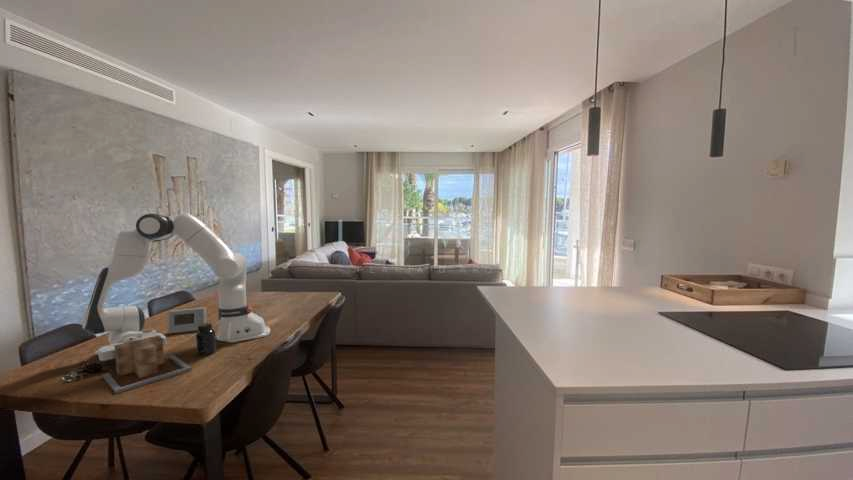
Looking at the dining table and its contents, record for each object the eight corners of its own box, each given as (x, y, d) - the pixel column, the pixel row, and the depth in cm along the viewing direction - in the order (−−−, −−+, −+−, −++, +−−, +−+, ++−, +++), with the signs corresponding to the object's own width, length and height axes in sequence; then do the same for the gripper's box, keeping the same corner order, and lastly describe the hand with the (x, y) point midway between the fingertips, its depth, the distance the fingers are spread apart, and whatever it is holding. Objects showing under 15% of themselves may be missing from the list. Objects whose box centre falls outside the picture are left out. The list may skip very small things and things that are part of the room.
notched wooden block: (160, 360, 136) (158, 335, 135) (170, 368, 128) (169, 342, 127) (116, 372, 125) (114, 345, 125) (125, 382, 118) (123, 353, 117)
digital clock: (164, 335, 165) (163, 313, 164) (174, 328, 173) (173, 308, 173) (202, 332, 168) (201, 311, 167) (210, 326, 177) (209, 306, 176)
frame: (173, 357, 138) (173, 355, 138) (191, 370, 127) (191, 367, 127) (103, 377, 122) (102, 374, 122) (115, 393, 110) (115, 390, 110)
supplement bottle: (202, 349, 146) (201, 322, 145) (219, 349, 146) (218, 321, 146) (193, 356, 139) (191, 327, 138) (210, 355, 140) (209, 326, 139)
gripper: (93, 343, 130) (100, 352, 122) (159, 329, 146) (170, 336, 138) (94, 359, 131) (102, 369, 122) (160, 343, 147) (171, 351, 138)
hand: (138, 351), depth 130 cm, fingers closed, pressing on notched wooden block
